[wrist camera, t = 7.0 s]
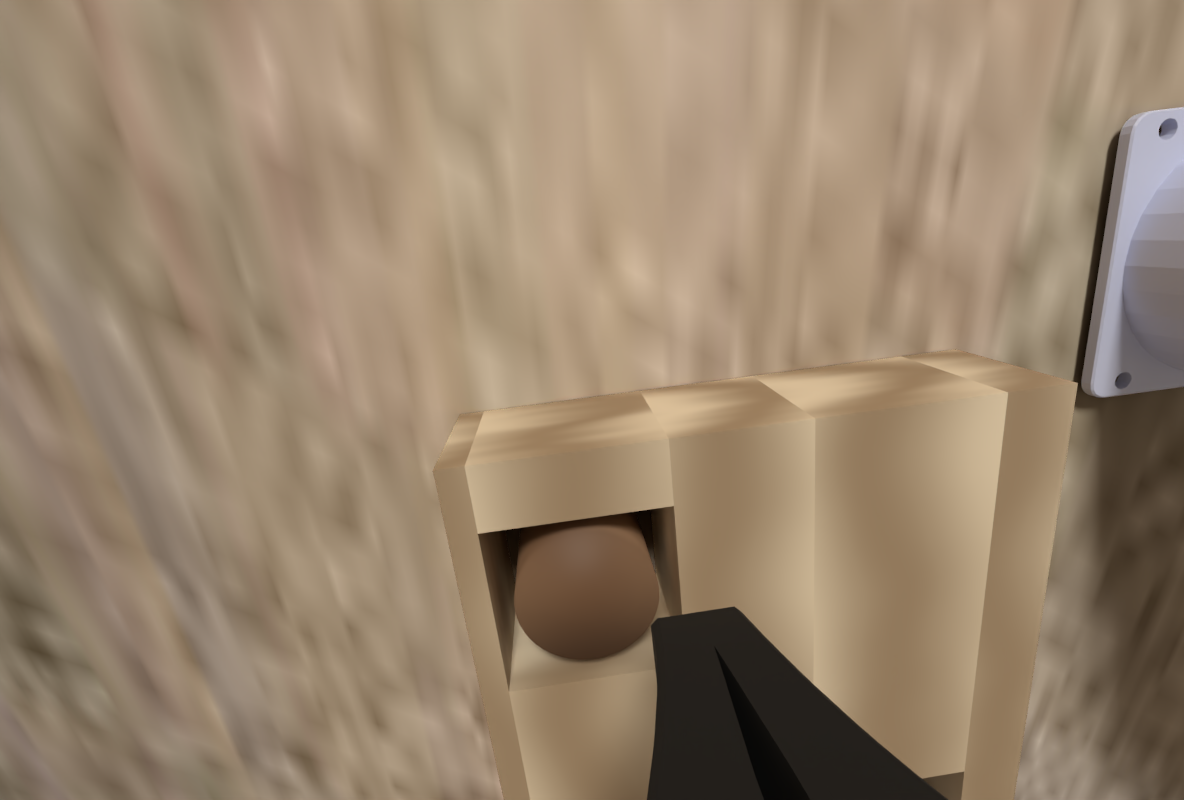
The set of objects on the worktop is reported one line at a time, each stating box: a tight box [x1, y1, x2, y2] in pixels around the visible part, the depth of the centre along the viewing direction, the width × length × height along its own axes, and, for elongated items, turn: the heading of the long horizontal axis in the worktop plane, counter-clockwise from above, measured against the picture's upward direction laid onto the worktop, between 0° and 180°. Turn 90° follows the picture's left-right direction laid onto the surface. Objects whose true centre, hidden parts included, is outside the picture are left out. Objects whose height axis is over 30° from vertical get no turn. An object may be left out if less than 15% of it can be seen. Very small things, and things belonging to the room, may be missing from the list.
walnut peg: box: [514, 512, 659, 660], centre depth 15 cm, size 4×4×4 cm
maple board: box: [433, 349, 1078, 800], centre depth 17 cm, size 15×18×4 cm
